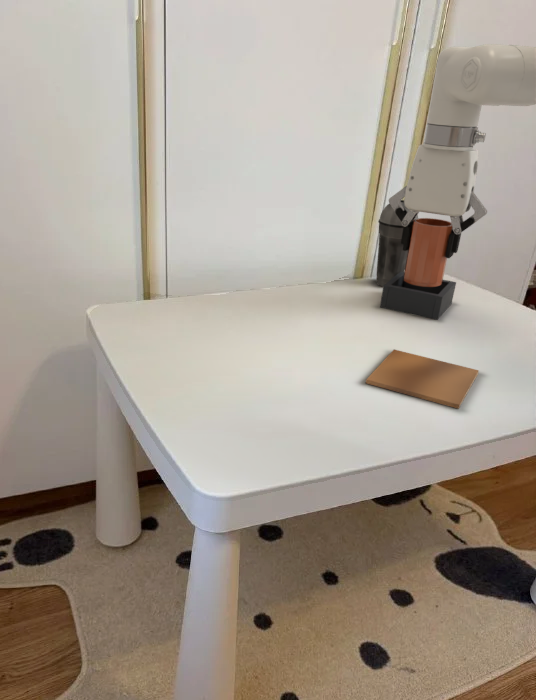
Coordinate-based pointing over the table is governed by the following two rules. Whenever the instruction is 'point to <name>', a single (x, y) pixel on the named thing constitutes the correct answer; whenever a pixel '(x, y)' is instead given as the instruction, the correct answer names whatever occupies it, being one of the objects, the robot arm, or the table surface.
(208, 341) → the table surface
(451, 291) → the cup holder
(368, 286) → the table surface
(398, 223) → the beverage cup
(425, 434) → the table surface
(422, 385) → the cork mat
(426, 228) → the tumbler
